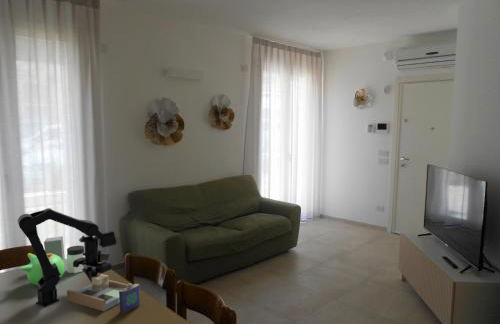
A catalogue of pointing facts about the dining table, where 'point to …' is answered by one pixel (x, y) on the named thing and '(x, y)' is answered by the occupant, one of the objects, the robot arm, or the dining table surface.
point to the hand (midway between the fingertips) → (93, 283)
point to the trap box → (97, 296)
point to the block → (100, 282)
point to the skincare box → (55, 247)
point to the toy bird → (35, 267)
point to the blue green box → (129, 298)
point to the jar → (74, 258)
